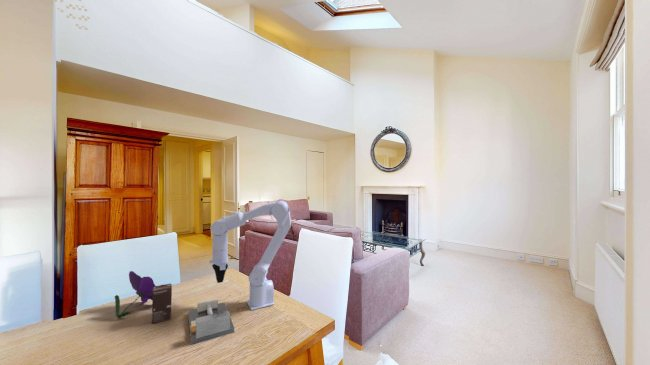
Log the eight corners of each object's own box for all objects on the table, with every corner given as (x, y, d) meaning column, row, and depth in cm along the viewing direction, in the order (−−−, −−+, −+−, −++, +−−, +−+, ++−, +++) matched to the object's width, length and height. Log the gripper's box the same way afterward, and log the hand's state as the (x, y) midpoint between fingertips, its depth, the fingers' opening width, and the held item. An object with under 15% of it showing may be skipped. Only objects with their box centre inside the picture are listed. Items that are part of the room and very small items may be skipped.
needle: (190, 329, 84) (190, 321, 84) (215, 322, 88) (215, 315, 88) (190, 331, 83) (190, 323, 83) (215, 324, 87) (215, 317, 87)
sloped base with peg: (188, 314, 96) (188, 297, 96) (224, 305, 103) (224, 290, 103) (190, 344, 79) (191, 324, 79) (234, 332, 86) (234, 313, 86)
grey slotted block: (197, 310, 96) (197, 302, 96) (217, 305, 99) (217, 297, 99) (199, 321, 88) (199, 312, 88) (220, 315, 92) (220, 307, 92)
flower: (140, 332, 93) (169, 300, 104) (120, 306, 86) (153, 275, 97) (113, 324, 97) (144, 294, 109) (91, 299, 90) (126, 270, 102)
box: (152, 324, 89) (152, 290, 89) (152, 318, 93) (152, 286, 93) (171, 319, 93) (172, 287, 92) (171, 313, 96) (171, 282, 96)
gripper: (207, 245, 108) (207, 277, 108) (211, 255, 95) (211, 291, 95) (225, 243, 111) (224, 274, 112) (231, 252, 99) (231, 287, 99)
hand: (220, 281), depth 104 cm, fingers closed
